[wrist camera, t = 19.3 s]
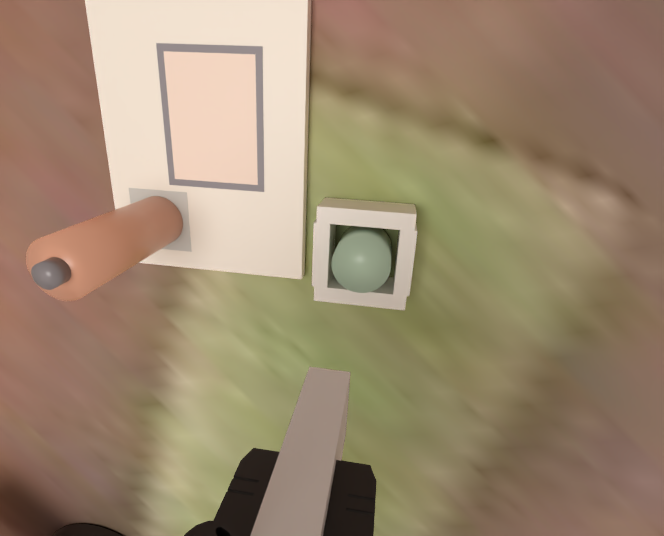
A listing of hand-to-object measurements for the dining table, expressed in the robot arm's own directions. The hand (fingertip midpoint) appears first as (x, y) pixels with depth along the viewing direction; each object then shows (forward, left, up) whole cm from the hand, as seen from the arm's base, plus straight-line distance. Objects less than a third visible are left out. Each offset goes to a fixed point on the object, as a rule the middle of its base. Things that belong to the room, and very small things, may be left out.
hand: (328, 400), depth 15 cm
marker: (-17, +1, -18) cm, 25 cm away
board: (-13, +7, -19) cm, 24 cm away
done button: (0, 0, -19) cm, 19 cm away
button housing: (0, 0, -19) cm, 19 cm away
